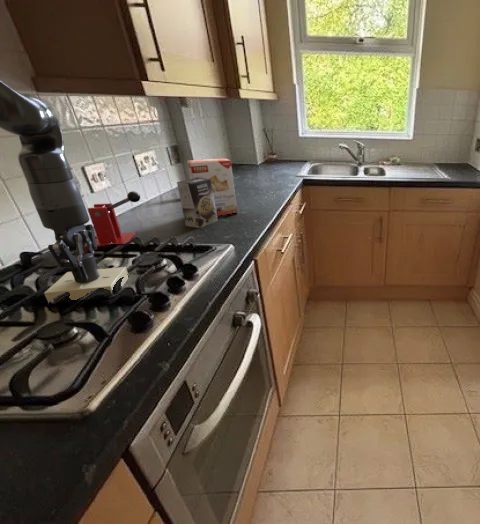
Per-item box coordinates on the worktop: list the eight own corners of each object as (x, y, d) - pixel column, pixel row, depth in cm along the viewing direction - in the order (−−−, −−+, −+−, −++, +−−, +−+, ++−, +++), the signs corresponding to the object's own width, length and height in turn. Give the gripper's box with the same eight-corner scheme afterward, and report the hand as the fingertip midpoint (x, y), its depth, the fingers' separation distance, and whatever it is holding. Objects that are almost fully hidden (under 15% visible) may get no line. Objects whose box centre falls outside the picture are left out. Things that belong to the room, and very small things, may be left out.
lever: (144, 197, 101) (136, 188, 99) (141, 200, 98) (133, 190, 96) (103, 216, 100) (95, 207, 98) (99, 220, 97) (90, 210, 95)
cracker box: (200, 219, 124) (189, 162, 115) (197, 215, 128) (186, 159, 119) (238, 214, 132) (230, 159, 123) (234, 210, 136) (226, 157, 127)
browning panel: (49, 305, 71) (43, 292, 69) (71, 283, 79) (66, 271, 78) (114, 297, 74) (110, 285, 73) (129, 277, 83) (125, 266, 81)
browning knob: (96, 281, 74) (87, 258, 72) (72, 284, 73) (62, 260, 70) (102, 273, 78) (94, 250, 76) (80, 275, 77) (71, 252, 74)
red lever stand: (137, 236, 107) (126, 201, 102) (128, 247, 99) (116, 209, 94) (97, 239, 104) (84, 202, 99) (84, 250, 96) (69, 211, 91)
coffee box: (200, 230, 114) (190, 183, 107) (185, 227, 116) (175, 181, 109) (219, 222, 122) (211, 178, 115) (205, 220, 124) (196, 176, 117)
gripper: (56, 195, 73) (82, 264, 80) (14, 213, 61) (50, 293, 68) (96, 193, 75) (118, 261, 82) (63, 211, 63) (93, 289, 70)
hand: (87, 275), depth 75 cm, fingers closed on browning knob, 4 cm apart
